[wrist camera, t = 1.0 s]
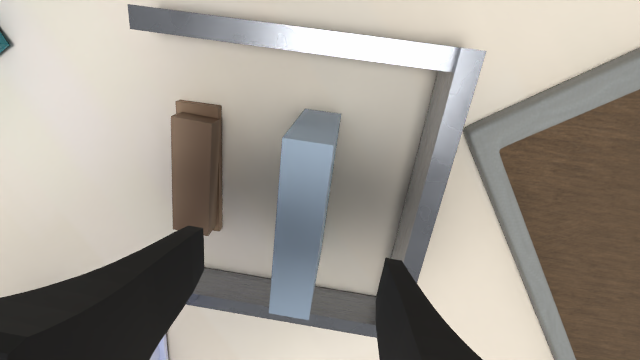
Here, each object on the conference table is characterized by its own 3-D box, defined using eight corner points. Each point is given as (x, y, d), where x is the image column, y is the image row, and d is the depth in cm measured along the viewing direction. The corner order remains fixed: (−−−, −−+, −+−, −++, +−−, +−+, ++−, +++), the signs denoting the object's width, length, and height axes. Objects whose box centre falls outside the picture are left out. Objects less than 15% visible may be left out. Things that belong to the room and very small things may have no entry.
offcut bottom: (191, 216, 23) (183, 225, 21) (186, 98, 19) (175, 101, 18) (226, 221, 22) (219, 231, 21) (225, 103, 19) (217, 107, 18)
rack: (176, 274, 24) (152, 304, 21) (158, 8, 17) (120, 2, 14) (392, 311, 23) (397, 347, 20) (464, 48, 16) (486, 51, 14)
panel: (291, 244, 22) (268, 313, 16) (305, 108, 18) (282, 137, 13) (321, 249, 22) (308, 320, 16) (341, 113, 18) (333, 145, 13)
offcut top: (182, 219, 21) (173, 229, 20) (182, 111, 19) (170, 116, 17) (215, 226, 21) (208, 236, 20) (220, 119, 18) (211, 124, 17)
